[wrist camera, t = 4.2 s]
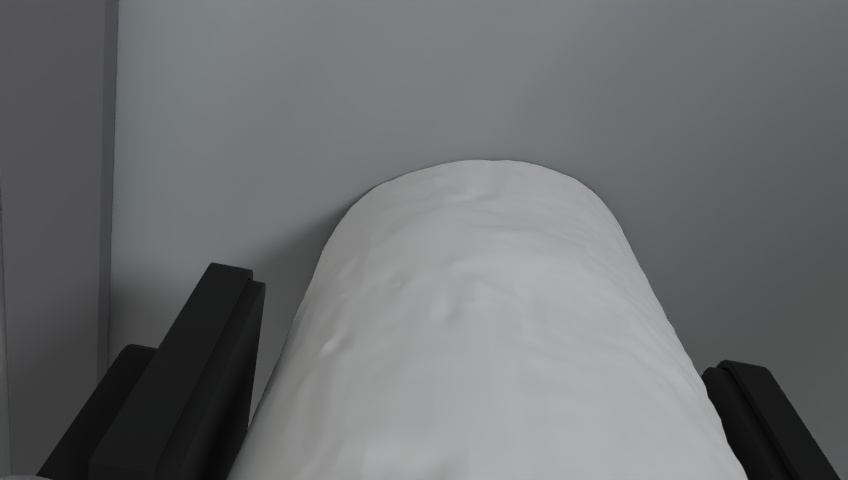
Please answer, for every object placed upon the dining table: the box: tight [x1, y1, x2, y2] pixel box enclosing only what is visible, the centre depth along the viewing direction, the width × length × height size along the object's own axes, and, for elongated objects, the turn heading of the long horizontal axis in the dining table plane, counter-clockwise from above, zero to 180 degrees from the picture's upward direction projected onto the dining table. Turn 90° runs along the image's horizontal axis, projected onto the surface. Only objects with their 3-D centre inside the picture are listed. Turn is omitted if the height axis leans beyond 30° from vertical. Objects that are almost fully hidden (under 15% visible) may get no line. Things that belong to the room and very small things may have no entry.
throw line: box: [0, 0, 118, 476], centre depth 13 cm, size 2×20×1 cm, turn 168°
